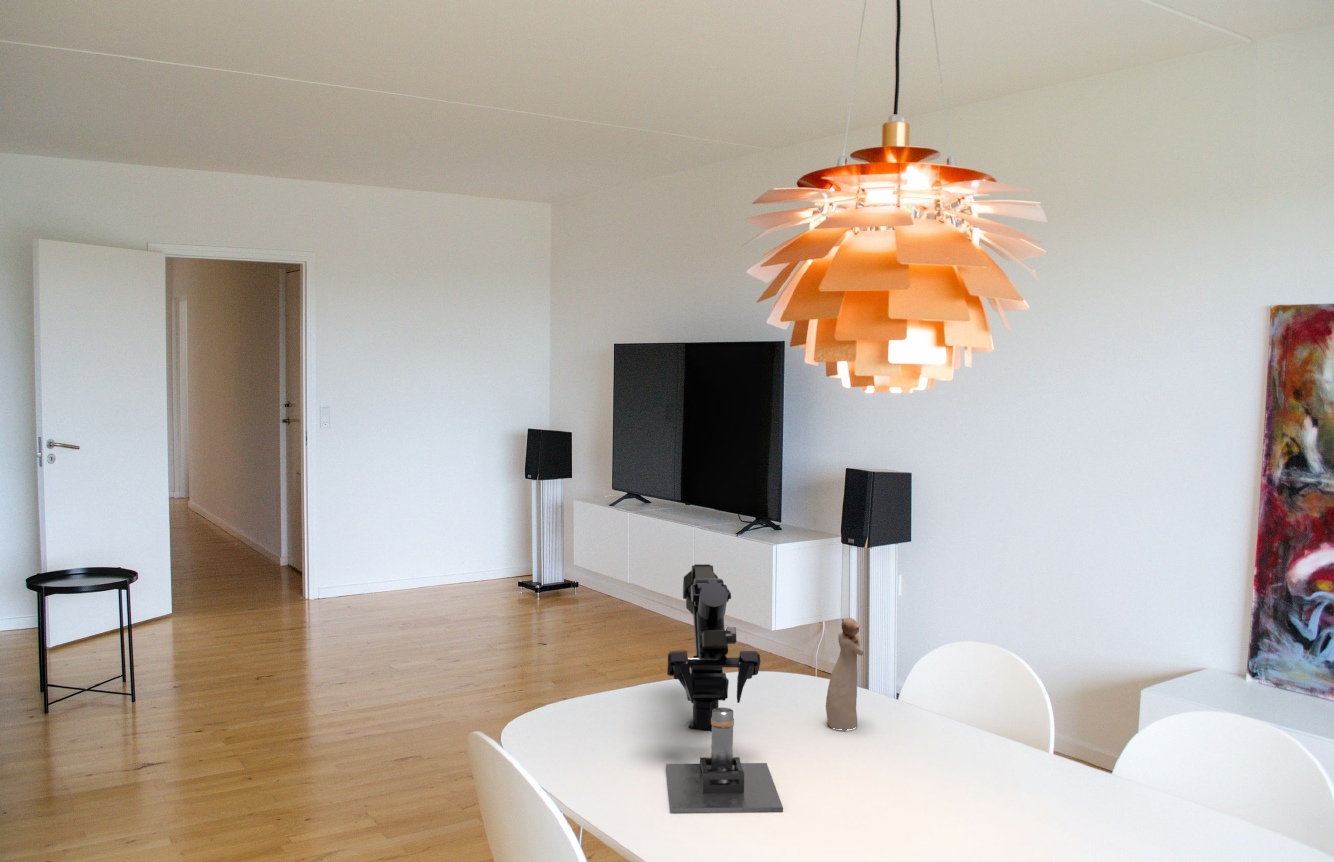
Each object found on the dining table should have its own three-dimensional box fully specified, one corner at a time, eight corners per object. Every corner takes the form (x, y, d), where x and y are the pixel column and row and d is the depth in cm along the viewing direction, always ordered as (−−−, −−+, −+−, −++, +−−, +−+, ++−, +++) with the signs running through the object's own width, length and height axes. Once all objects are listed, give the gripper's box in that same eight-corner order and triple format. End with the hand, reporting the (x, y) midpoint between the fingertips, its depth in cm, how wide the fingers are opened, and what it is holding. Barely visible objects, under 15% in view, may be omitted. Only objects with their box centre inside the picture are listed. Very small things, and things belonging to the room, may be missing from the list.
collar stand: (666, 767, 191) (666, 745, 191) (766, 766, 192) (766, 744, 192) (670, 812, 171) (671, 788, 171) (782, 811, 172) (783, 786, 172)
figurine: (854, 735, 210) (856, 621, 208) (819, 726, 215) (821, 615, 213) (869, 725, 216) (872, 614, 214) (835, 716, 221) (837, 608, 220)
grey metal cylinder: (720, 777, 185) (721, 705, 184) (737, 784, 182) (738, 711, 181) (705, 784, 182) (706, 710, 181) (722, 791, 179) (723, 716, 178)
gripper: (668, 612, 195) (670, 683, 185) (759, 612, 196) (767, 682, 186) (666, 640, 204) (668, 709, 193) (754, 639, 205) (760, 708, 194)
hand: (715, 702), depth 191 cm, fingers open, 9 cm apart
